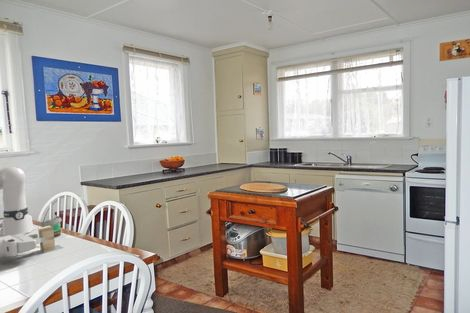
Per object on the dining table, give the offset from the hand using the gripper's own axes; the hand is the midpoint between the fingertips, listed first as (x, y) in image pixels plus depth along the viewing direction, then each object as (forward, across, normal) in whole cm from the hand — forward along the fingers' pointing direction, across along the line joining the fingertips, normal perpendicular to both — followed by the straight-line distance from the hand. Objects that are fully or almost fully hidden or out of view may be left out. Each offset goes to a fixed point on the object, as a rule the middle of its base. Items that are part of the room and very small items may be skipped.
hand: (40, 237), depth 162 cm
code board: (+3, -5, -7) cm, 9 cm away
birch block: (+3, 0, -7) cm, 7 cm away
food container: (+14, -21, -8) cm, 26 cm away
